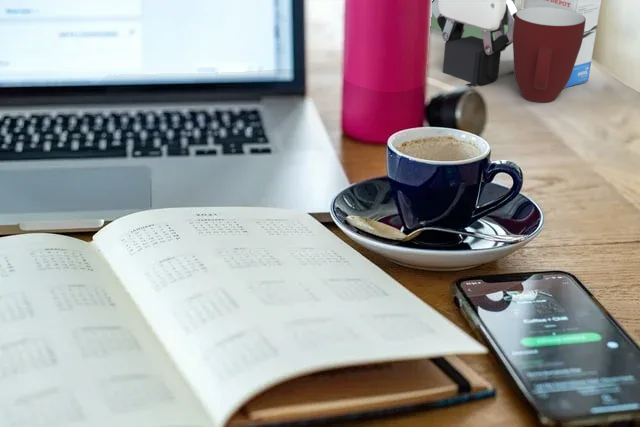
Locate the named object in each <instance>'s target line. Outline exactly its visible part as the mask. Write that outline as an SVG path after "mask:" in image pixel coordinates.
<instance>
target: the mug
mask: <svg viewBox="0 0 640 427" xmlns="http://www.w3.org/2000/svg"><path fill="white" fill-rule="evenodd" d="M519 16H520V18H519ZM585 21H586V19H585V17H584V16H583V15H581V14H579V13H577V12H574V11H570V10H566V9H560V8H551V7H532V8H525V9H524V8H521V10H519V11H517V12H516V14H515V20H514V27H513V42H512V50H513V52H512V53H513V55H512V56H513V72H514V77H515V80H516V84H517V86H518V88H519V91H520V93H521V95H522V97H523V98H524V99H525V100H528V101H529V102H533V103H551V102H553V101H556V99H557V98H558V97H559V95H560V94H561V93H562V91H563V90H564V89H565V88H566V87H565V86H566V84H567V83H568V81H569V79H570V76H571V74H572V71H573V68H574V65H575V62H576V59H577V56H578V53H579V51H580V48H581V44H582V40H583V35H584V29H585ZM564 87H565V88H564Z"/></svg>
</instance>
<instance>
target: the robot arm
mask: <svg viewBox="0 0 640 427" xmlns="http://www.w3.org/2000/svg"><path fill="white" fill-rule="evenodd" d="M522 4H523V0H434V1H433V2H432V13H433V15H434V17H435V18H436V19H437V23H438V25H439V27H440V28H441V30H442V31H441V32H442V33H441V38H442V40H443V41H444V42H445V43H446V42H450V41H454V40H458V39H461V38H462V36H463V33H464V30H465V27H466V24H467V25H470V26H473V27H477V28H480V29H482V35H483V43H484V51H485V52H484V53H481V54H480V60H479V70H478V79H477V82H478V84H480V85H482V86H483V85H486V84H489V83H493V82H495V81H497V80H498V79H497V77H498V78H499V73H500V72H499V71H500V64H501V53H502V52H505V51H506V49H507V48H508V47H509V46H510V45H511V44H513V27H514V20H515V14H516V12H517V11H519V10H521V9H522ZM519 18H520V16H519ZM504 25H508V31H507V32H506V33H505V30H504ZM493 32H494V33H495V40H493Z"/></svg>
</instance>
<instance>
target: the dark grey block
mask: <svg viewBox="0 0 640 427" xmlns="http://www.w3.org/2000/svg"><path fill="white" fill-rule="evenodd" d="M443 51H444V54H443V64H442V65H443V66H442V74H446V75H448V76H450V77H451V76H452V77H454V78H456V79H459V80H462V81H465V82H468V83H466V84H465V86H467V85H468V86H467V87H470V86H473V87H476V86H479V85H481V84H478V82H477V79H478V70H479V60H480V54H481V53H484V52H485V51H484V43H483V39H480V38H477V37H474V36H469V37H465V38H461V39H458V40H454V41H450V42H446V41H445V43H444V50H443ZM498 78H499V76H498V77H497V79H496V80H498ZM473 87H472V88H473Z"/></svg>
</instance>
